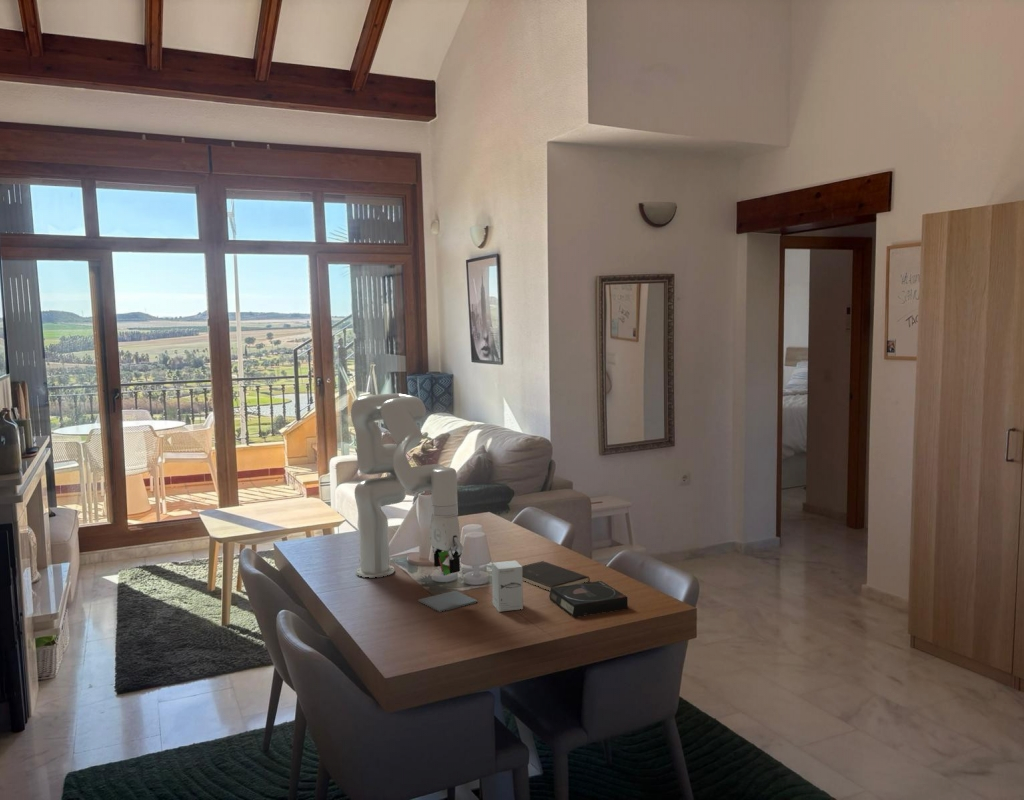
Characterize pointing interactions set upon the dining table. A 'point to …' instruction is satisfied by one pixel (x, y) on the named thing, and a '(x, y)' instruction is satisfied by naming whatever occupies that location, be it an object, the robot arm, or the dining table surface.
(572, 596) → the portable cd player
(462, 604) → the mat
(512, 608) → the supplement box
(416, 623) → the dining table surface
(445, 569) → the geometric puzzle
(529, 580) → the hardcover book
